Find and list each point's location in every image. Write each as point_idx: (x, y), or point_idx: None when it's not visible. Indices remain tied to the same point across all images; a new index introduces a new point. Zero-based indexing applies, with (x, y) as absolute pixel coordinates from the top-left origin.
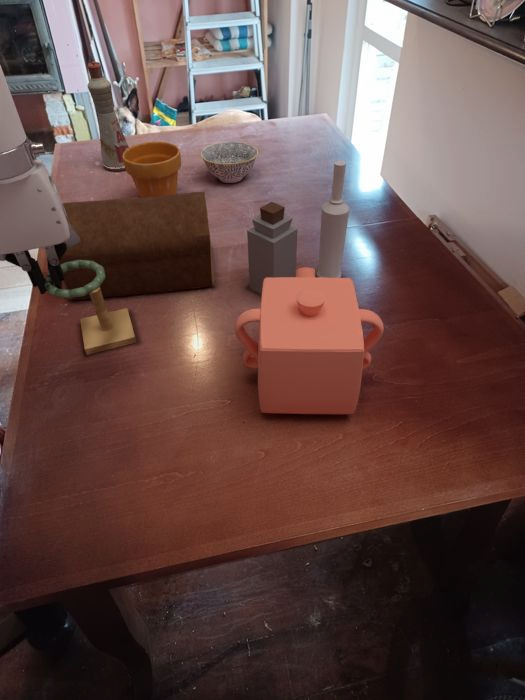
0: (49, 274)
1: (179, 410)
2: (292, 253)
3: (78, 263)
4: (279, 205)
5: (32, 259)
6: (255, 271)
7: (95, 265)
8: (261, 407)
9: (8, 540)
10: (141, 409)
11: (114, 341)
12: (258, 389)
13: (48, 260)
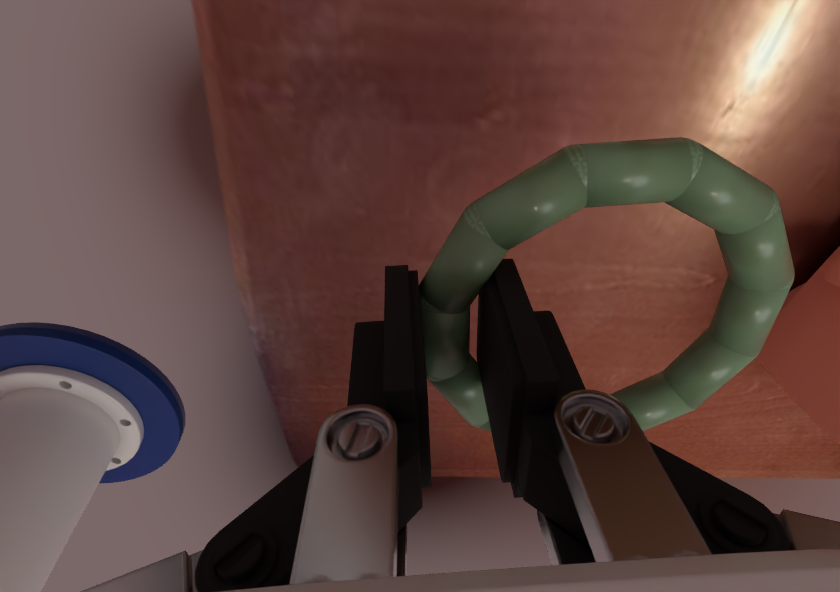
0: (460, 294)
1: (605, 275)
2: None
3: (672, 199)
4: None
5: (414, 475)
6: None
7: (764, 274)
8: (761, 362)
9: (284, 424)
10: (528, 252)
11: None
12: (793, 378)
13: (535, 506)
